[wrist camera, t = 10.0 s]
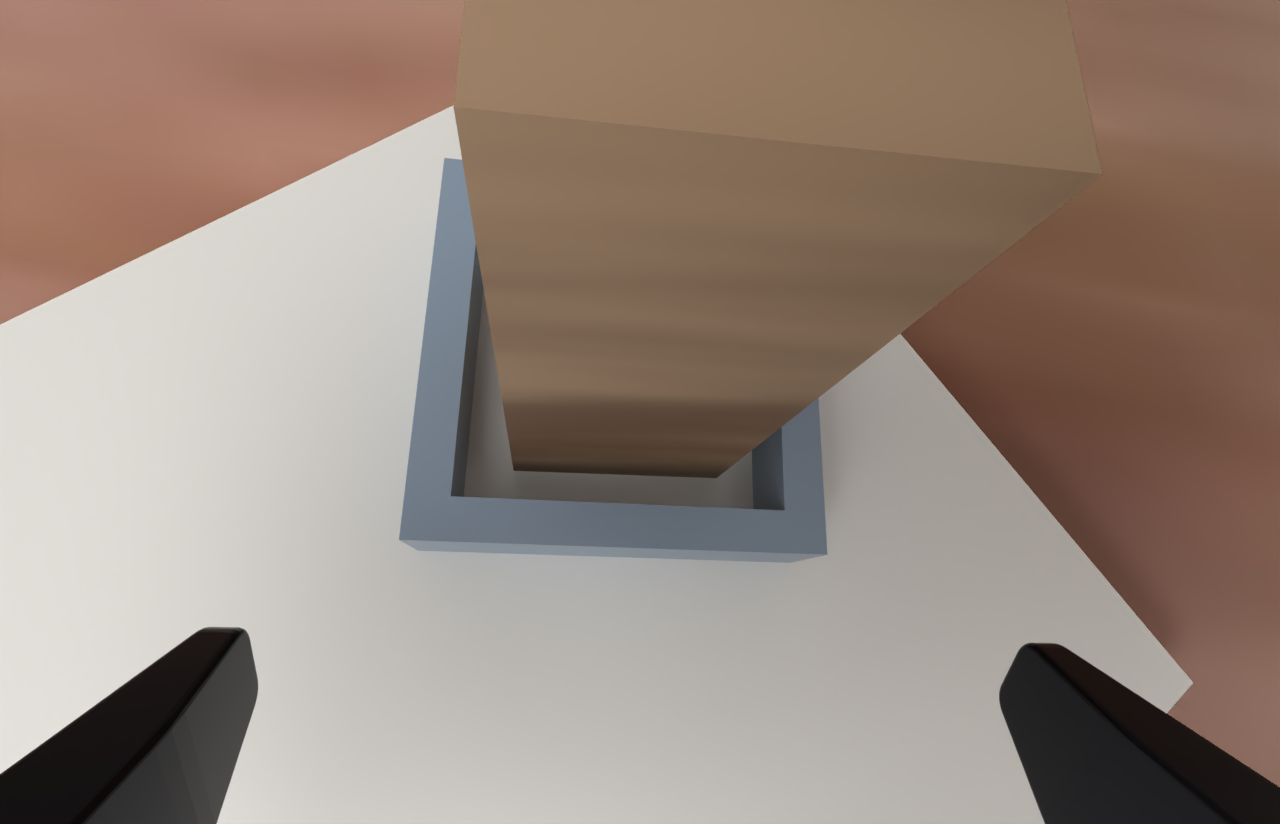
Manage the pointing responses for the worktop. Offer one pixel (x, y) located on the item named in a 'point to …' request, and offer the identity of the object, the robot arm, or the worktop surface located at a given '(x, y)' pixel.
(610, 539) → the socket
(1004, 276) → the worktop surface
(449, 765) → the white rectangular sheet
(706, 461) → the walnut column
